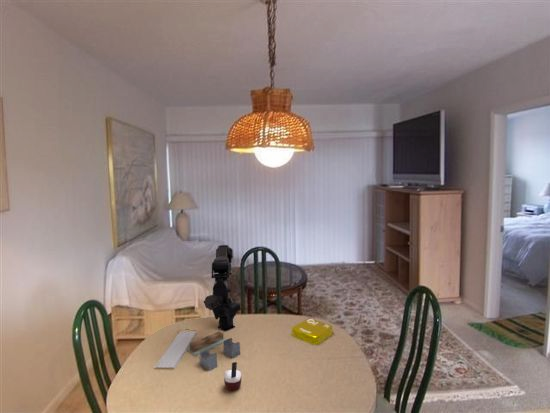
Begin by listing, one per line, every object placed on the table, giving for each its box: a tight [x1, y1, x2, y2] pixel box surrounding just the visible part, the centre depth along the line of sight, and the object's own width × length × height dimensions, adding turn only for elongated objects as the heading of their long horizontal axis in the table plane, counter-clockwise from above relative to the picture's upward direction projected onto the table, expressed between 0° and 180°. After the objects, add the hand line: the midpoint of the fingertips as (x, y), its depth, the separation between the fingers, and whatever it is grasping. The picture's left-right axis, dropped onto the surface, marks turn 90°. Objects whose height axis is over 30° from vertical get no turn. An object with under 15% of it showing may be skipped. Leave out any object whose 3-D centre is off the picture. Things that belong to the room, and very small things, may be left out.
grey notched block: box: [199, 349, 218, 372], centre depth 136 cm, size 4×6×6 cm, turn 46°
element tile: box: [291, 318, 334, 346], centre depth 161 cm, size 15×15×5 cm
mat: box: [186, 337, 227, 357], centre depth 153 cm, size 17×7×1 cm, turn 136°
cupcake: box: [223, 361, 242, 391], centre depth 122 cm, size 10×6×12 cm, turn 175°
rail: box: [189, 330, 224, 353], centre depth 153 cm, size 16×3×3 cm, turn 136°
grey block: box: [223, 337, 241, 359], centre depth 145 cm, size 4×6×6 cm, turn 46°
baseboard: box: [153, 328, 197, 370], centre depth 150 cm, size 30×3×10 cm
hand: (223, 321), depth 150 cm, fingers open, 9 cm apart
